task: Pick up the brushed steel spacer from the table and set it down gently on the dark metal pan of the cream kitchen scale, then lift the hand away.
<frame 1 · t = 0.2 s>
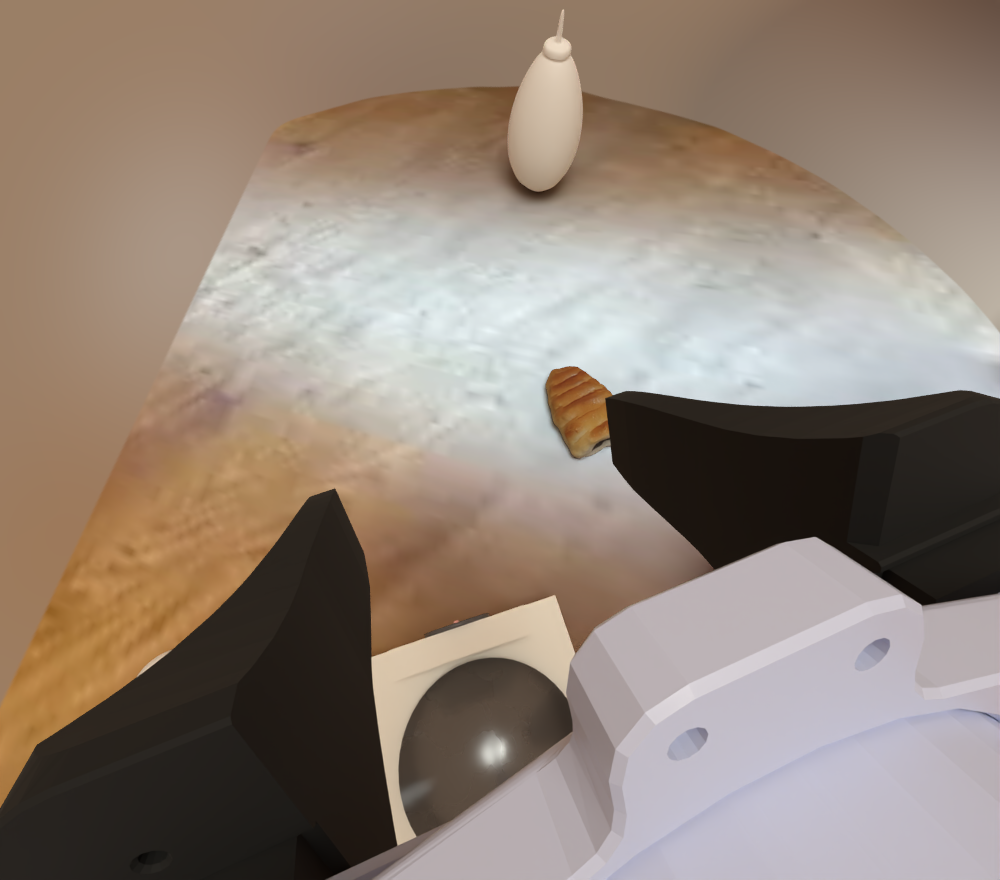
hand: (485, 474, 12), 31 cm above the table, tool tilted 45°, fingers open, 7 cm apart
pastry: (580, 420, 48), on the table
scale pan: (493, 759, 34), point 4 cm above the table, slide at -0.5 cm
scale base: (491, 748, 37), on the table
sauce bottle: (536, 186, 60), on the table
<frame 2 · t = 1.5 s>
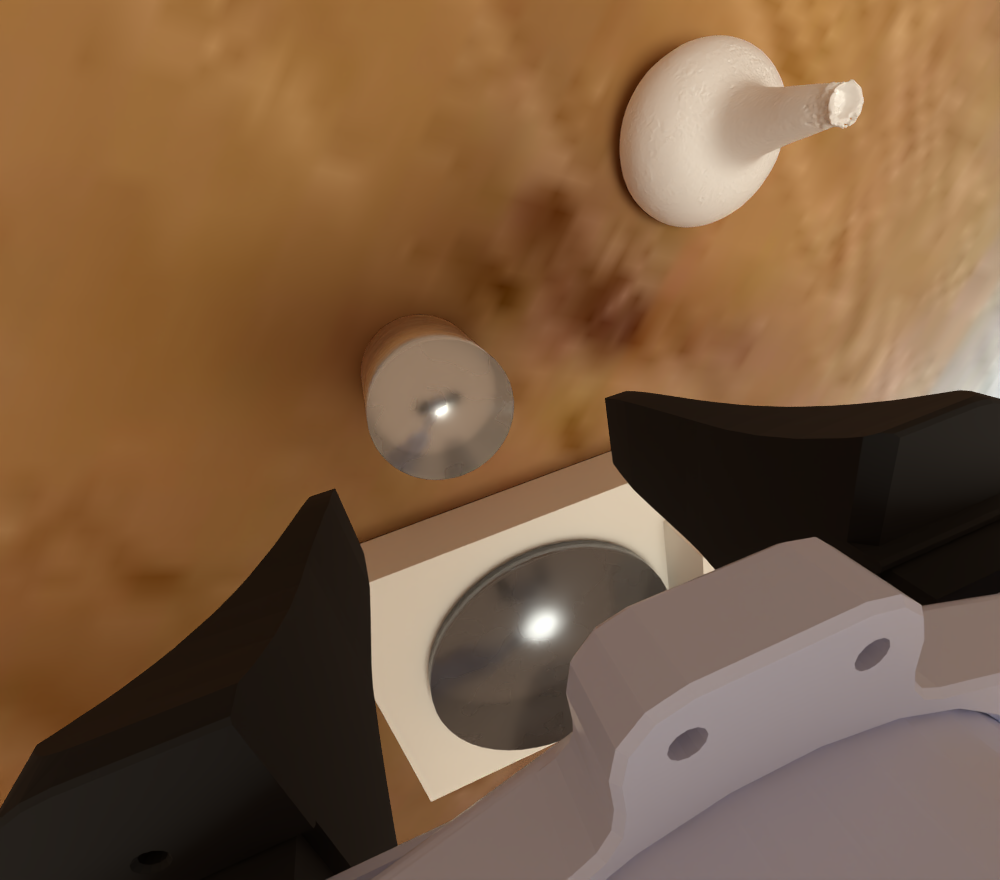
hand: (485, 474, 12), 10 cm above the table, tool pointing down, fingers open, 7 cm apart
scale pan: (556, 652, 25), point 4 cm above the table, slide at -0.5 cm
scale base: (531, 604, 28), on the table
garlic bulb: (674, 145, 20), on the table
steel spacer: (421, 373, 21), on the table
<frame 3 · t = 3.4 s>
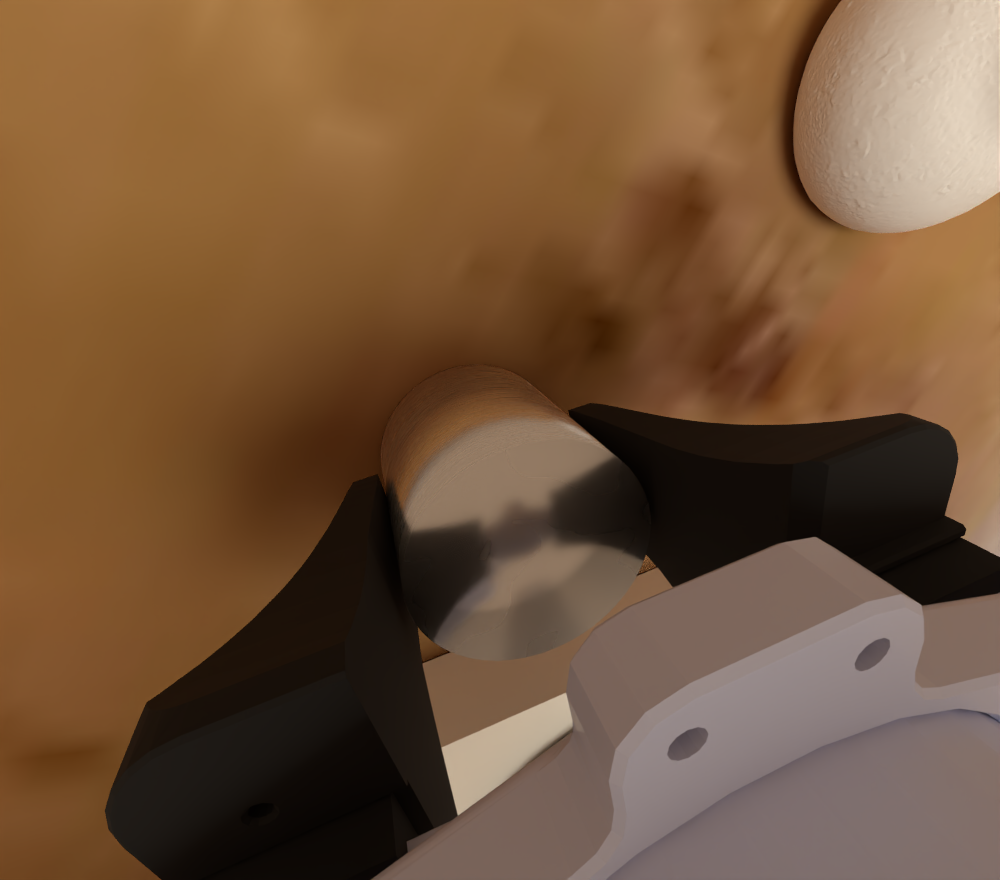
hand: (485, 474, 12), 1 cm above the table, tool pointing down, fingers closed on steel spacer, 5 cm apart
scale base: (598, 734, 21), on the table
garlic bulb: (864, 107, 13), on the table
steel spacer: (472, 451, 14), on the table, touching gripper
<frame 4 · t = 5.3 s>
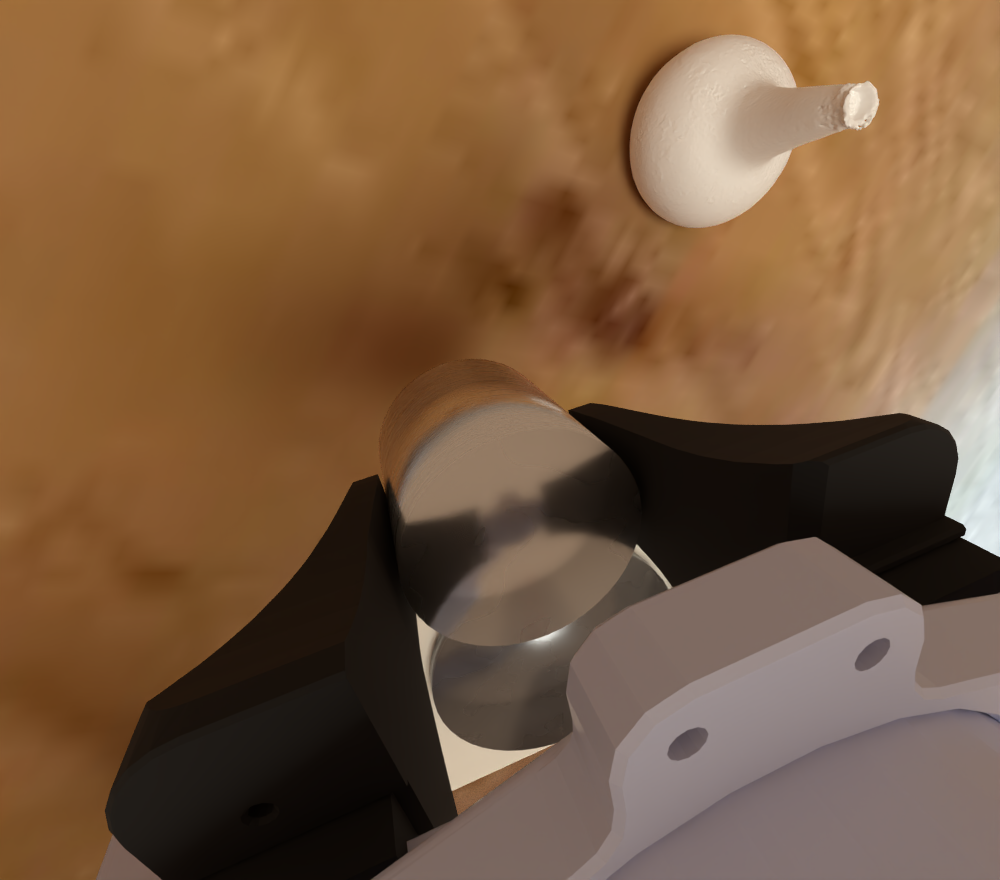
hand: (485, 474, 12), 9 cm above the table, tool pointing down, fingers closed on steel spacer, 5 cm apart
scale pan: (557, 653, 25), point 4 cm above the table, slide at -0.5 cm
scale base: (533, 605, 28), on the table
garlic bulb: (684, 145, 20), on the table
steel spacer: (468, 444, 14), point 8 cm above the table, touching gripper
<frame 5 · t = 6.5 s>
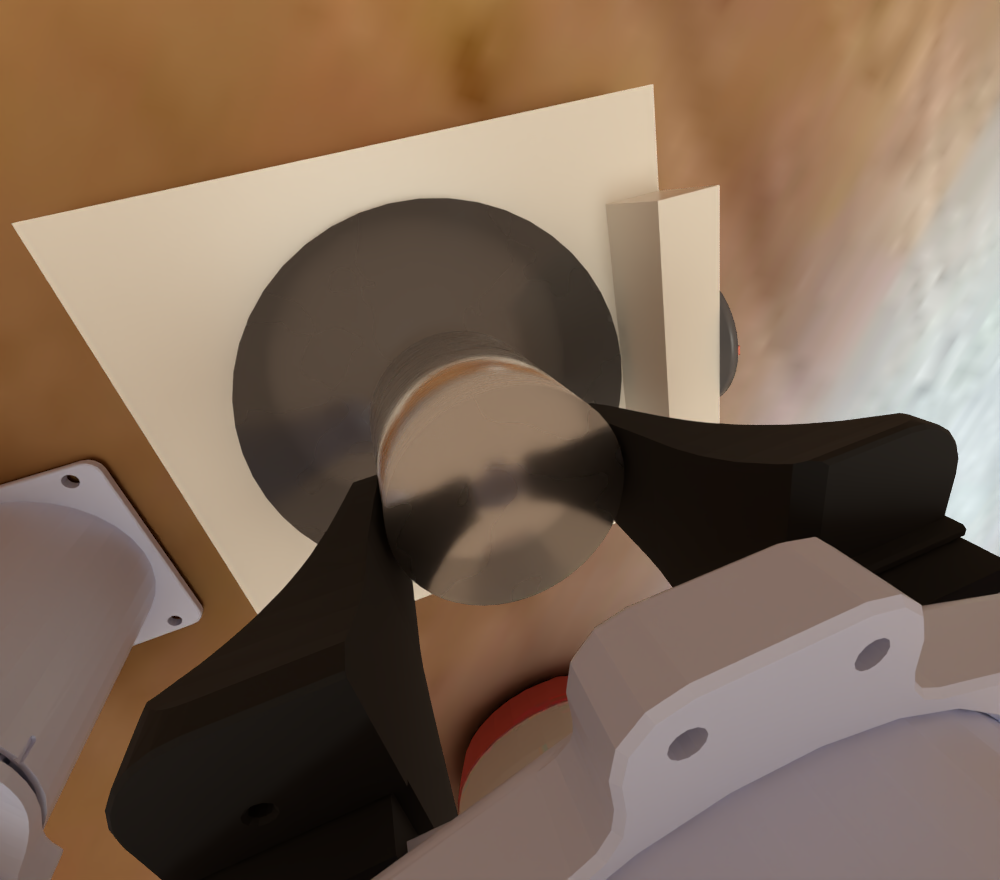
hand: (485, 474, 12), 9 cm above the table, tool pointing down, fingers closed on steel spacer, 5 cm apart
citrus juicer: (537, 741, 32), on the table
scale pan: (446, 409, 17), point 4 cm above the table, slide at -0.5 cm
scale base: (429, 379, 20), on the table
steel spacer: (458, 417, 14), point 6 cm above the table, touching gripper
when the fingers open (7 cm above the table, at t = 7.6 s): steel spacer stays where it is, resting on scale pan.
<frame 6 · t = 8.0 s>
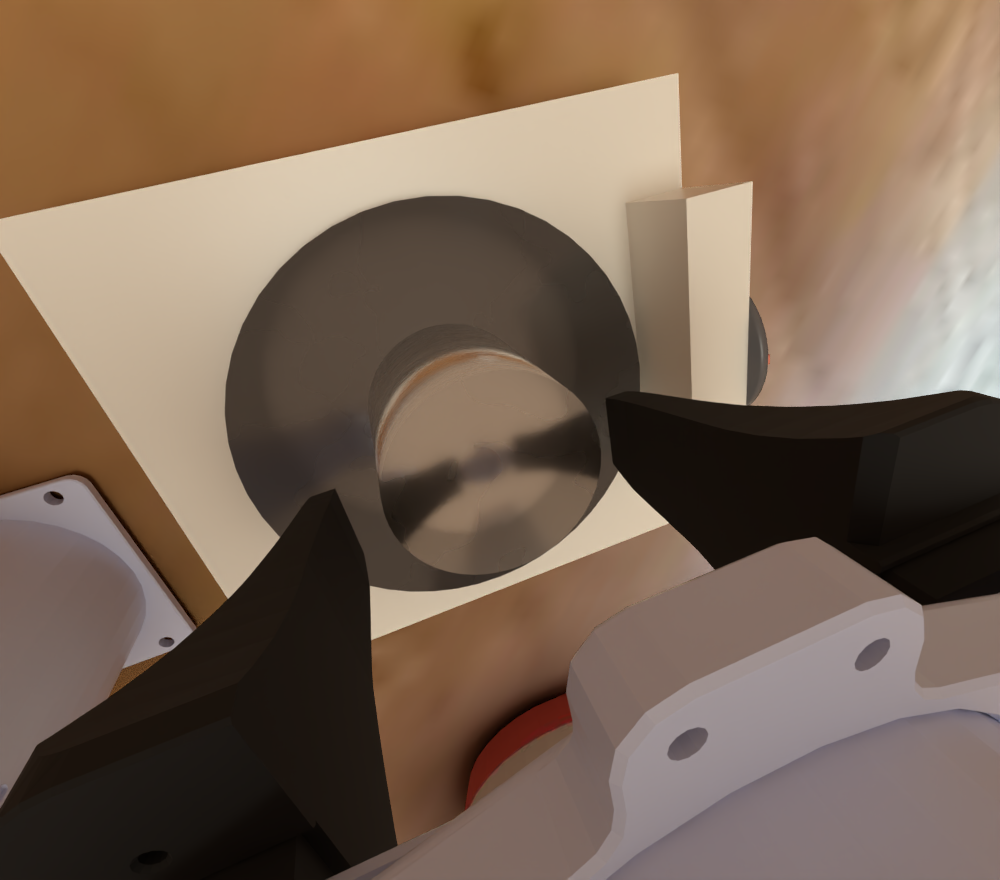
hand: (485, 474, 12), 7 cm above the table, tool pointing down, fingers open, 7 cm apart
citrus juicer: (545, 758, 31), on the table
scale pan: (454, 421, 16), point 4 cm above the table, slide at -0.5 cm, touching steel spacer
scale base: (435, 388, 19), on the table
steel spacer: (451, 405, 15), point 4 cm above the table, touching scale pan
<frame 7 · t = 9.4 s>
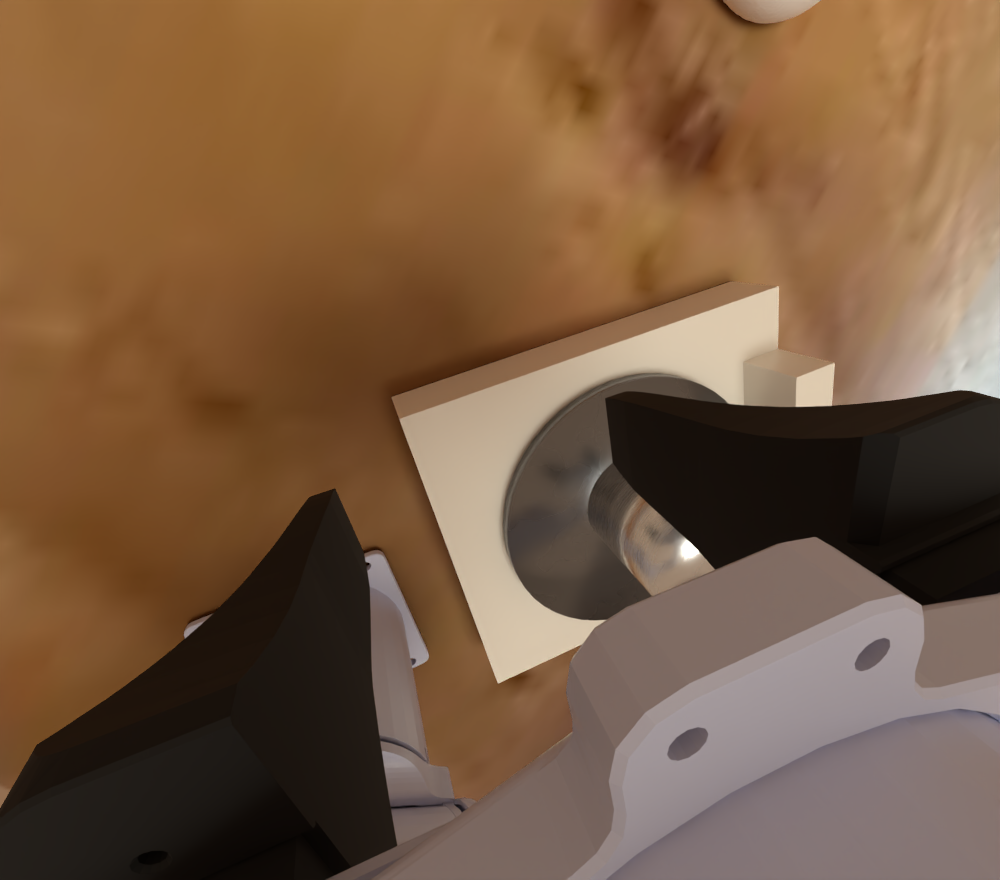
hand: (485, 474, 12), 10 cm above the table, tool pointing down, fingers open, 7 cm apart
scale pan: (632, 506, 23), point 4 cm above the table, slide at -0.5 cm, touching steel spacer
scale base: (597, 475, 27), on the table
steel spacer: (635, 497, 23), point 4 cm above the table, touching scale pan
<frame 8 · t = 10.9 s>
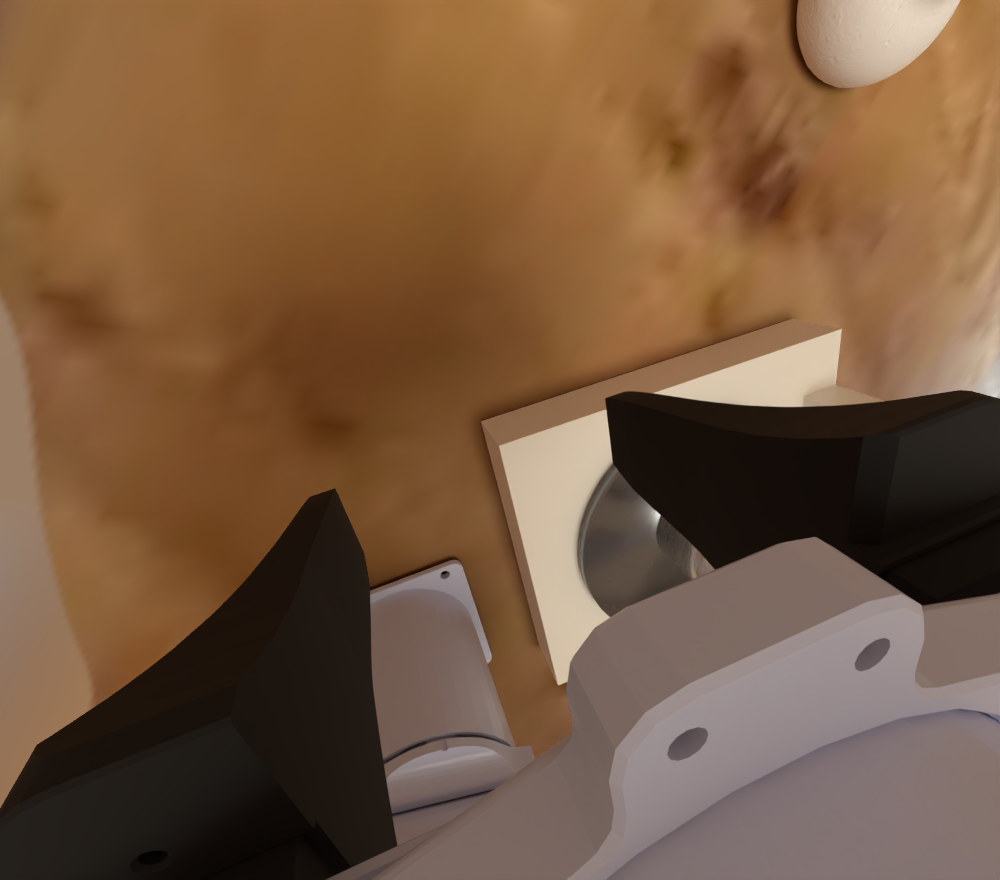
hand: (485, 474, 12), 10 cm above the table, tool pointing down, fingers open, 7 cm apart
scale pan: (694, 526, 25), point 4 cm above the table, slide at -0.5 cm, touching steel spacer
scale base: (656, 494, 28), on the table
garlic bulb: (841, 8, 21), on the table
steel spacer: (699, 519, 25), point 4 cm above the table, touching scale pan
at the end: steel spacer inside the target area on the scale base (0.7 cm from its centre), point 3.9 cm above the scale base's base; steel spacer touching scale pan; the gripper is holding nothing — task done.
